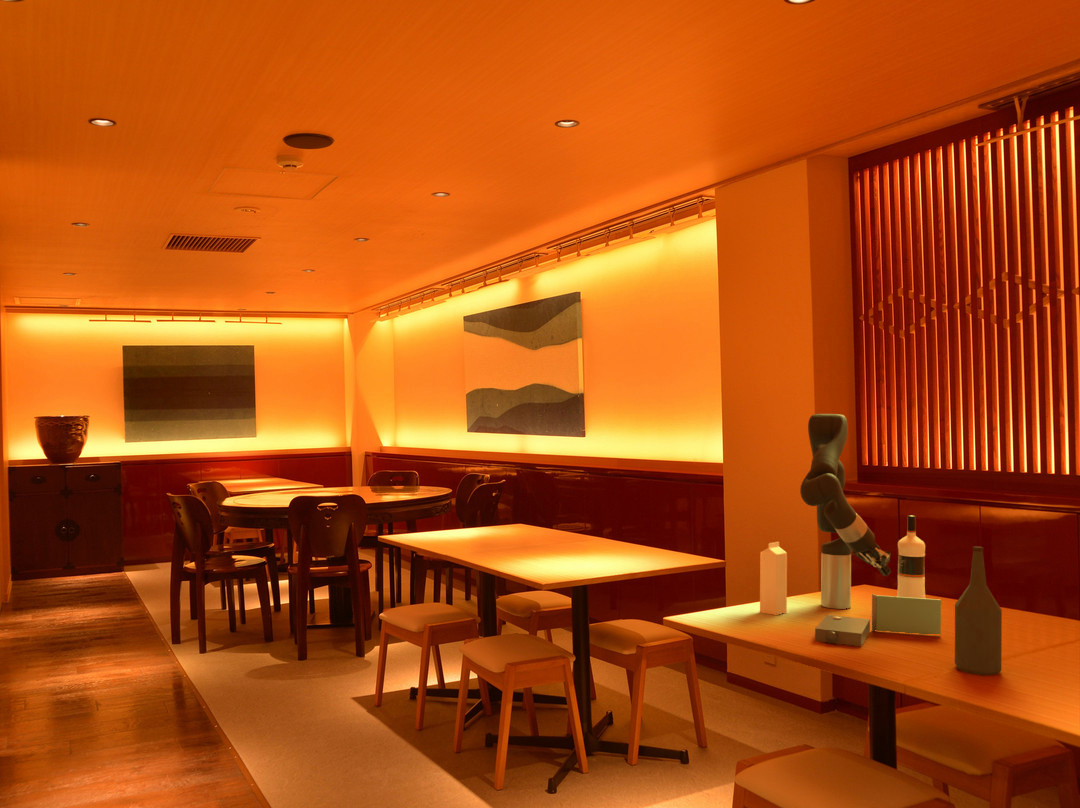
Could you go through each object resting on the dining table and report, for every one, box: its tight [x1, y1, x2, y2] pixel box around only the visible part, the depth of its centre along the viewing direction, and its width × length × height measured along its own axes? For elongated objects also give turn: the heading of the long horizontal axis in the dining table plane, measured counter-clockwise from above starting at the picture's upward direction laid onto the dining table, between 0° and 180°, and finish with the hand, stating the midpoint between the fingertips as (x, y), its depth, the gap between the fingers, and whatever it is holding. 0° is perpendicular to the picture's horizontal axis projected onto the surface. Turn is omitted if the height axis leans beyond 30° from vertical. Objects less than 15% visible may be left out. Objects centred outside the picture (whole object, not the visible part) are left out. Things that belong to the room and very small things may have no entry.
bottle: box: [954, 546, 1003, 676], centre depth 218 cm, size 10×10×30 cm
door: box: [871, 593, 942, 636], centre depth 255 cm, size 18×1×10 cm, turn 73°
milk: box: [759, 541, 788, 616], centre depth 281 cm, size 6×6×22 cm
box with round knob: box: [814, 614, 871, 647], centre depth 250 cm, size 22×12×4 cm, turn 154°
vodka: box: [896, 515, 926, 599], centre depth 292 cm, size 9×9×30 cm
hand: (887, 573), depth 249 cm, fingers closed
